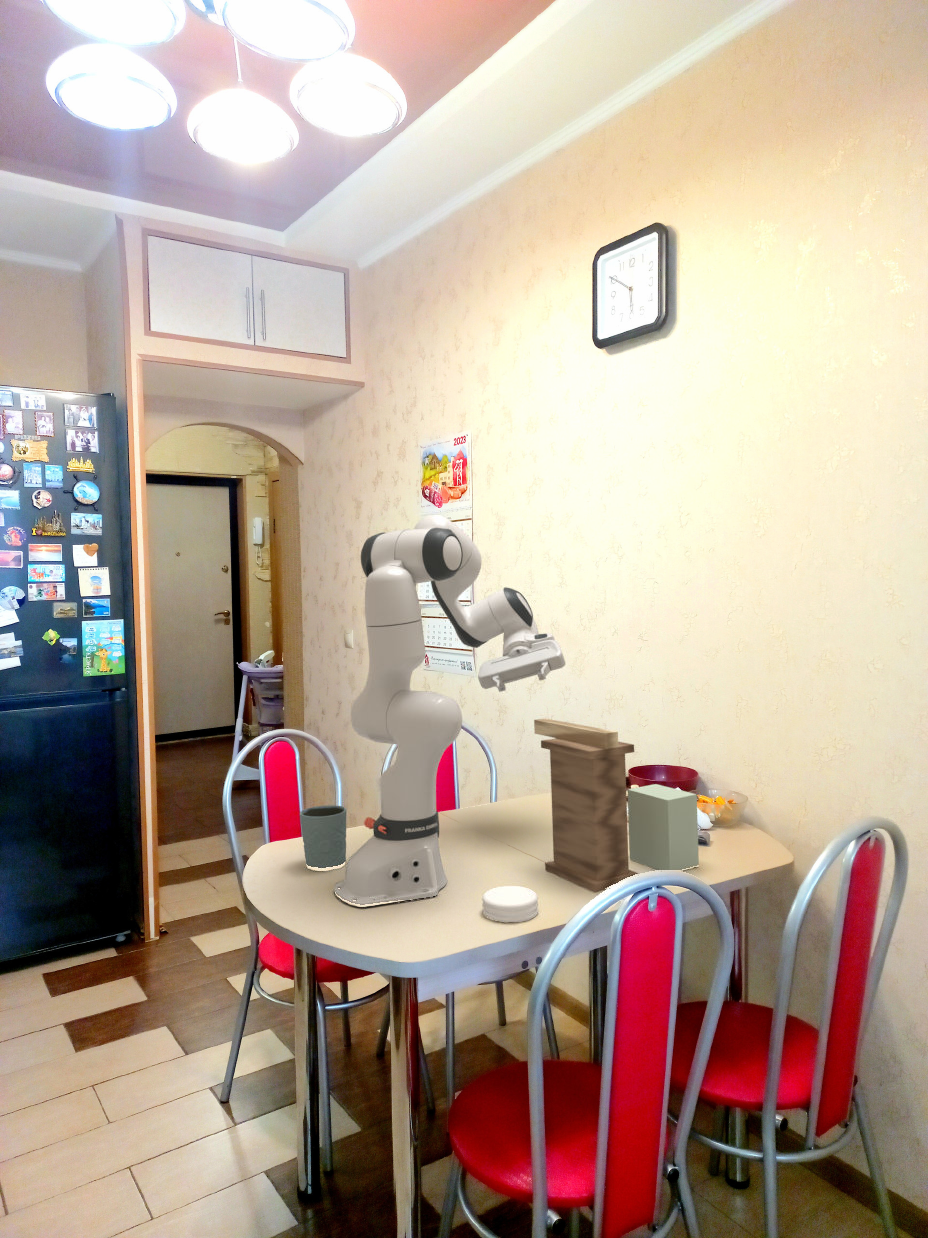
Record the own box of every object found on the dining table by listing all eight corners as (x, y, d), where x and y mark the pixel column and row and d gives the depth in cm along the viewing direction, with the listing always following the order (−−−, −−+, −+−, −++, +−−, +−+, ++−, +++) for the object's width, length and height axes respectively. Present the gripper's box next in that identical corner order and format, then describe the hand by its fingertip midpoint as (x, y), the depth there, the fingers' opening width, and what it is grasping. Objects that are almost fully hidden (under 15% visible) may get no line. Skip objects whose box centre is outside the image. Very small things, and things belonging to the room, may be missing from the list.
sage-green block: (670, 874, 166) (667, 800, 166) (629, 859, 176) (627, 789, 176) (698, 866, 170) (696, 794, 170) (657, 852, 180) (655, 784, 180)
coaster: (549, 912, 149) (548, 893, 149) (512, 929, 142) (511, 909, 142) (508, 899, 156) (508, 881, 156) (471, 915, 149) (470, 895, 149)
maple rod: (606, 749, 159) (605, 733, 159) (534, 733, 180) (534, 719, 180) (618, 747, 160) (617, 731, 160) (545, 732, 181) (545, 718, 181)
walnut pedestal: (594, 892, 158) (589, 751, 157) (545, 870, 171) (540, 740, 171) (638, 880, 163) (634, 744, 162) (587, 860, 177) (583, 734, 176)
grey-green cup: (327, 875, 173) (325, 818, 173) (291, 868, 178) (289, 813, 178) (358, 861, 182) (356, 807, 181) (323, 855, 187) (321, 802, 187)
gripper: (475, 654, 197) (472, 683, 184) (558, 630, 193) (560, 658, 180) (484, 676, 199) (481, 706, 187) (565, 653, 195) (569, 682, 183)
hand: (521, 683), depth 184 cm, fingers open, 8 cm apart
